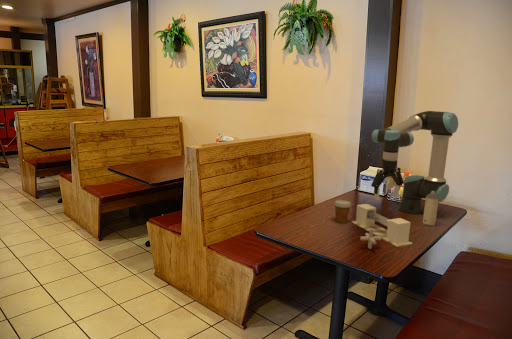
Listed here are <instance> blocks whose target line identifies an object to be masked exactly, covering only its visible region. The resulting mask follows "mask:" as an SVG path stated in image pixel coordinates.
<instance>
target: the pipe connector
mask: <svg viewBox="0 0 512 339" xmlns="http://www.w3.org/2000/svg"><path fill="white" fill-rule="evenodd" d="M364 235H365V236H360V237H359V239H360V241H368V242H367V249H370V250H371V249H373V245H377V241H381V240H382V238H381V236H376V235H374V234H373V228H370V230H369V231H368V232H365V234H364Z"/></svg>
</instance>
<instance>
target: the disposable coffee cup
mask: <svg viewBox="0 0 512 339" xmlns="http://www.w3.org/2000/svg"><path fill="white" fill-rule="evenodd" d="M351 206H352V204H351V201H348V200H345V199H336V200H335V201H334V208H335V210H334V211H335V222H336V223H339V224H346V223H348V222H347V221H348V218H349V212H350V209H351Z"/></svg>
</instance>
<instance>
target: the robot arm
mask: <svg viewBox="0 0 512 339" xmlns="http://www.w3.org/2000/svg"><path fill="white" fill-rule="evenodd" d="M458 128H459V119H458V117H457V115H456V113H454V112H448V111H436V110H435V111H434V110H426V111H421V112H418V113H416V114H413V115H411V116H409V118H408V119H405V120H402V121H401V122H398V123H396V124H394V125H391V126H389V127H386V128H384V129H381V128H380V129H377V128H376V129H374V130H373V131H372V133H371V140H372V142H374V143H378V144H383V150H382V152H383V153H382V161H381V167H382V168H381V169H380V168H377V171H376V174H375V176H374V178H373V180H372V182H371V185H370V186H371V187H372V188H374V190H373V196H374V197H373V200H376V201H380V190H381V188H380V187H381V185H382V184H383V182H384V181H385V180H386V179H387V178H392V180H393V182H394V189H393V197H395V198H399V193H400V190H401V187H402V185H403V188H402V198H401V200H400V202H399V204H398V206H397V207H398V210H399V211H400V212H402V213H406V214H412V215H419V214H421V215H422V214H424V207H423V200H422V199H425V200H426V195H428V194H430V193H431V191H435V194H436V195H437V196H438V197H439V201H438V203H441V202H443V201H445V200H446V199H447V197H448V195H449V192H450V185H449V184H447V179H446V178H445V170H446V164H447V158H448V157H447V155H448V149H449V142H450V138H452V136H453V134H455V133H456V132H457V131H458ZM420 130H421V131H423V130H424V131H430V135H431V136H432V143H431V144H432V145H431V152H430V160H429V167H428V175H427V176H426V177H425V175H419V174H417V175H416V174H414V175H407V176H405V177H404V179H403V175H402V173H401V167H399V166H398V160H399V148H406V147H409V146H412V144H414V142H415V137H414V135H413V133H411V132H415V131H416V132H417V131H420Z"/></svg>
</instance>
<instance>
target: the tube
mask: <svg viewBox="0 0 512 339" xmlns="http://www.w3.org/2000/svg"><path fill="white" fill-rule="evenodd" d="M367 217H369V218H371V219H373V220H375V222H378V223H379V224H381V225H384V226H385V227H387V228H388V220H390V218H387V217H385V216H384V215H382V214H379V213H377V212H376V213H375V212H373V211H368V212H367Z"/></svg>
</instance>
